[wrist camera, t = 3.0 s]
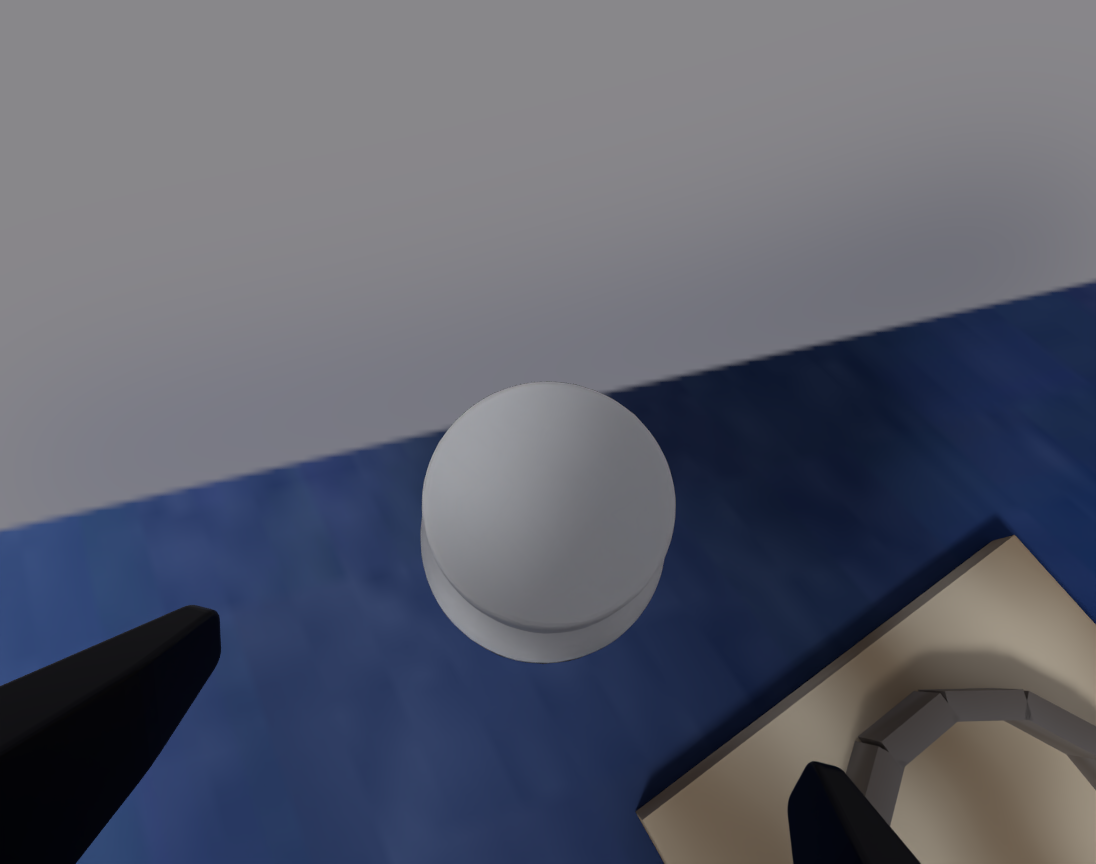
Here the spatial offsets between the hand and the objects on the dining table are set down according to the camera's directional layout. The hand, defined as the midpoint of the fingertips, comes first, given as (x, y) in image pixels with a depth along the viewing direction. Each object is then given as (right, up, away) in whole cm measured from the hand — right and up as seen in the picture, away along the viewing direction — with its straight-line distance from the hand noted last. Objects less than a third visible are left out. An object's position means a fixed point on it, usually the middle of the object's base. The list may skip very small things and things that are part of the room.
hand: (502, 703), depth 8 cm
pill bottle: (0, -1, +11) cm, 11 cm away
